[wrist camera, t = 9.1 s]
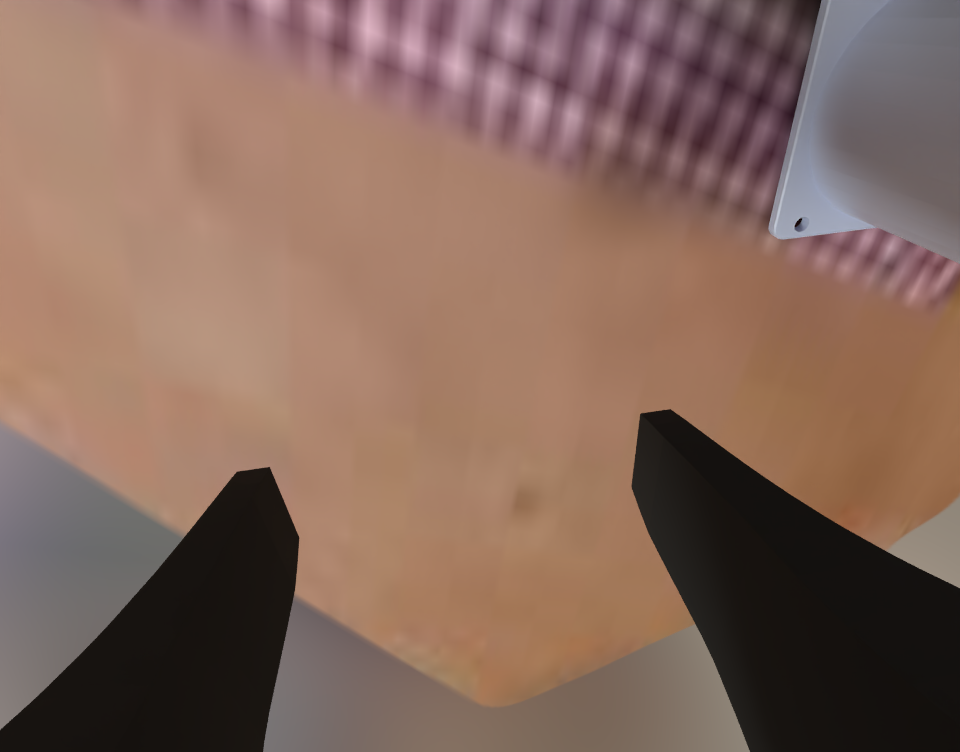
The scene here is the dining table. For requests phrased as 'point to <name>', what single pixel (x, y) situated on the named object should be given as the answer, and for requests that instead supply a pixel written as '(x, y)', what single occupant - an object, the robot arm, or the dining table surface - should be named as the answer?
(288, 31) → the dining table surface
